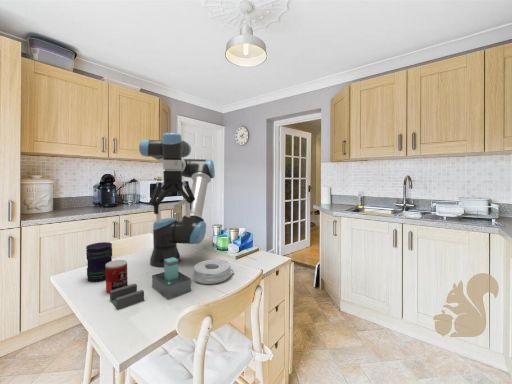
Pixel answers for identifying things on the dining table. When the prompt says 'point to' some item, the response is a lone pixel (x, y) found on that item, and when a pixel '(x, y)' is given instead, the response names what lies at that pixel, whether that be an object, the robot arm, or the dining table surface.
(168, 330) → the dining table surface
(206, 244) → the dining table surface
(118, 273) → the canned food
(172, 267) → the plug
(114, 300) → the grey slotted cradle
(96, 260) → the storage jar
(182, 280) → the grey socket block
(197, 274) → the cable
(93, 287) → the dining table surface
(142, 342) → the dining table surface
